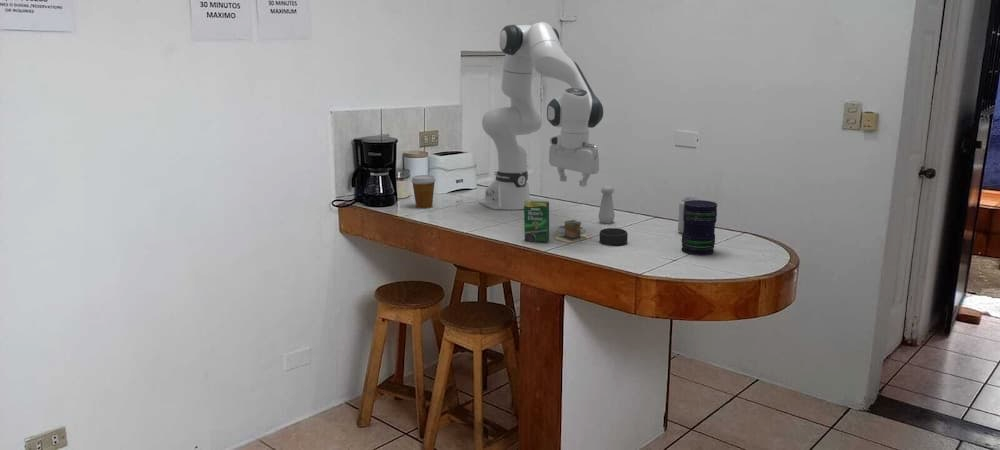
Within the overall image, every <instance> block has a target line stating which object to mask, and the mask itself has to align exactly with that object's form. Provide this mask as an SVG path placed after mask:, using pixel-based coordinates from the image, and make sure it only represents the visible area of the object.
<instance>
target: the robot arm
mask: <svg viewBox="0 0 1000 450" xmlns="http://www.w3.org/2000/svg"><path fill="white" fill-rule="evenodd" d="M499 34H500V35H499V46H500V49H501V51H502V52H503V53H504V54H505V56H504V61H503V67H502V69H503V70H502V79H501V90H502V93H503V94H504V95H505V96H507V97H508V98H509V100H510V106H509V107H508V106H506V107H504V106H503V107H495V108H492V109H489V110H486V111H485V112H484V114H483V116H482V120H481V126H482V128H483V132H484V133H485V134H486V135H488V136H489V137H490V139H492V141H493V143H494V145H495V147H496V150H497V162H498V166H497V168H498V169H497V171H494V175H495V180H494V181H493V182H492V183H491V184H489V185H488V186H487V187H486V188H485V191H484V198H482V199H479V200H478V201H479V202H478V203H479V204H481V205H483V206H485V207H487V208H490V209H492V210H506V211H507V210H508V211H509V210H510V211H511V210H517V211H518V210H524V202H525V201H531V197H530V195H531V194H530V185H529V183H528V180H529V178H528V176H529V173H528V172H529V171H528V170H527V167H528V166H527V165H528V163H527V161H528V160H527V155H528V154H527V150H526V149H525V148H524V147H522V146H521V145H519V144H518V142H517V137H516V136H523V135H524V136H525V135H530V134H533V133H535V132H538V131H539V130H540V129H541V127H542V125H543V124H542V123H543V117H542V113H541V111H540V110H539V109H538V108H537V107H536V105H535V103H534V102H533V97H532V80H533V69H534V70H535V71H536V72H537V73H539V74H540V75H541V76H544V77H546V78H550V79H551V78H552V79H556V80H558V81H561V82H563V83H566V84H568V85H569V86H570V88H567V89H565V90H564V91H563V93H562V95H560V96H559V97H555V98H553V99H552V100H550V101H549V103H548V104H547V107H546V119H547V121H548V122H549V124H551V125H552V126H553V127H556V128H561V129H560V134H557V135H555V136H552V137H550V138H549V144H550V146H549V153H548V163H549V164H550V166H552V167H555V168H557V169H556V170H557V173H558V174H559V175H558V176H559V182H563V183H565V182H567V181H568V179H567V178H568V177H567V176H568V175H566V174H565V171H566V170H569V171H574V172H578V173H581V176H582V178H581V180H579V182H578V183H579V187H583V188H584V187H587V185H588V184H587V183H588V182H587V181H588V180H589V178H590V176H591V175H596V174H598V172H599V171H600V158H599V148H597V146H596V145H595V144H593V143H589V139H590V138H589V137H590V134H589V132H590V131H589V129H590V128H593V129H594V128H595V127H596V126H597V125H599V123H600V122H601V121H602V119H603V118H604V107H603V104H602V103H601V101H600V100H599V98H598V97H597V96H596V94H595V93H594V92H593V90H592V89H593V88H591V86H590V84H589V82H588V81H587V79H586V76H585V75H584V73H583V72H582V70H581V68H580V66H579V64H577V62H575V61H574V60H573V59H571V58H570V57H569V56H568V55H567V53H566V52H565V51H564V49H563V47H562V45H561V43H560V41H561V40H560V39H561V38H560V35H559V32H558V30H557V28H555V27H552V26H551V25H550V24H549V23H547V22H544V21H540V22H539V21H538V22H536V23H534V24H518V25H516V24H509V25H506V26H504V27H503V28H502V29H501V31H500V33H499Z"/></svg>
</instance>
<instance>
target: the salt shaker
mask: <svg viewBox="0 0 1000 450" xmlns="http://www.w3.org/2000/svg"><path fill="white" fill-rule="evenodd" d="M600 192H601V193H602V197H601V202H600V207H599V210H598V219H599V220H598V221H599V222H600V223H601V224H604V223H608V224H609V223H610V224H612V223H613V222H614V219H615V216H616V215H615V209H614V203H613V202H614V201H613V195H612V194H614V187H613V186H609V185H605V186H602V187H601V190H600ZM608 224H607V225H608Z"/></svg>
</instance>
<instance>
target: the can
mask: <svg viewBox="0 0 1000 450" xmlns="http://www.w3.org/2000/svg"><path fill="white" fill-rule="evenodd" d="M690 200H702V198H699V197H696V196H683V197H681V200H680V201H679V204H678V206H679V207H678V222H677V223H678V225H677V231H678V232H679V233H680V234H681V235H682V233H683V228H684V221H683V211H684V202H685V201H690Z"/></svg>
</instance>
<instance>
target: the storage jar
mask: <svg viewBox="0 0 1000 450" xmlns="http://www.w3.org/2000/svg"><path fill="white" fill-rule="evenodd" d="M717 207H718V203H717V202H714V201H711V200H702V199H701V200H690V201H685V202H684V211H683V221H684V228H683V233H682V234H681V252H683V253H684V254H687V255H692V256H710V255H713V254H714V253H715V250H714V249H715V244H716V234H715V231H716V230H715V229H716V223H717V216H718V212H717V211H718V209H717Z"/></svg>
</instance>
